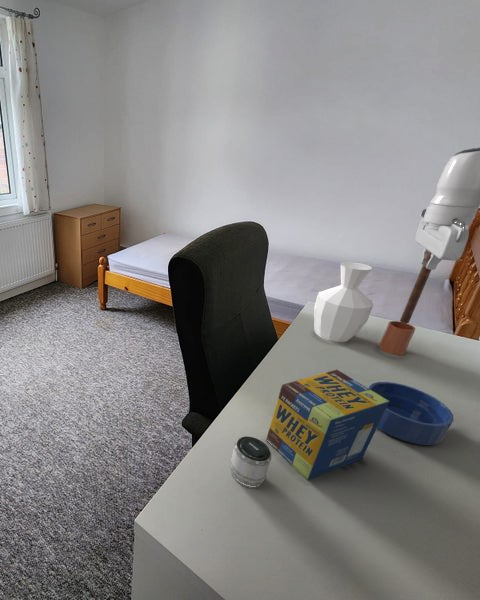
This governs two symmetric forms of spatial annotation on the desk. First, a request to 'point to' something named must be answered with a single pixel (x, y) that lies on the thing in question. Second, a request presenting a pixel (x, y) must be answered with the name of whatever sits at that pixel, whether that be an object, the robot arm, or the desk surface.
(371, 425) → the protein box
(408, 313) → the stick
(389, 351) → the holder
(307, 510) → the desk surface
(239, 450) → the small jar
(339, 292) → the vase
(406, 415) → the bowl
